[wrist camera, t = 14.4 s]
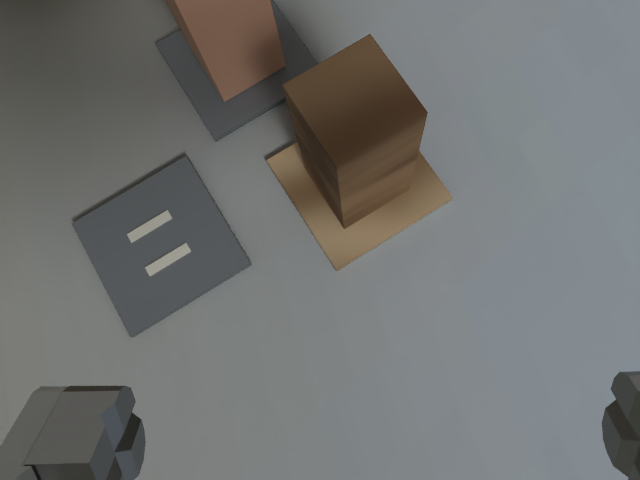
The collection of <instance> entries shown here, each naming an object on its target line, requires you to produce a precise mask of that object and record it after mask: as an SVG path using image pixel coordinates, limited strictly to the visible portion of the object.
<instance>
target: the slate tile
mask: <svg viewBox="0 0 640 480" xmlns="http://www.w3.org/2000/svg"><path fill="white" fill-rule="evenodd" d="M270 2H271V6H272V10H273V14H274V18H275V22H276V26H277V31H278V35H279V39H280V43H281V47H282V51H283V55H284V59H285V63H286V66H285V67H283V68H282V69H280V70H278V71H277V72H275V73H273V74H272V75H270V76H268V77H266V78H265V79H263V80H261V81H260V82H258V83H256V84H255V85H253V86H251V87H249V88H248V89H246V90H244V91H243V92H241V93H239V94H238V95H236V96H234V97H232V98H231V99H229V100H227V101H226V102H224V101H223V99H222V97H221V96H220V94H219V93H218V91H217V89H216V88H215V86H214V85H213V83H212V82H211V80H210V78H209V77H208V75H207V74H206V72H205V71H204V69H203V67H202V66H201V64H200V63H199V61H198V60H197V58H196V56H195V55H194V53H193V52H192V50H191V48H190V47H189V45H188V43H187V41H186V39H185V37H184V35H183V33H182V31H181V29H180V30H178V31H176V32H175V33H173V34H171V35H169V36H168V37H166V38H164V39H162V40H161V41H159V42H157V43H155V44H156V45H157V47H158V49H159V50H160V52H161V54H162V55H163V57H164V58H165V60H166V62H167V63H168V65H169V67H170V68H171V70H172V71H173V73H174V75H175V76H176V78H177V79H178V81H179V83H180V84H181V86H182V88H183V89H184V91H185V92H186V94H187V96H188V97H189V99H190V101H191V102H192V104H193V105H194V107H195V109H196V110H197V112H198V114H199V115H200V117H201V118H202V120H203V122H204V123H205V125H206V126H207V128H208V130H209V131H210V133H211V135H212V136H213V138H214V139H215V141H218V140H219V139H221V138H223V137H224V136H226V135H228V134H229V133H231V132H233V131H234V130H236V129H238V128H239V127H241V126H243V125H244V124H246V123H248V122H250V121H251V120H253V119H255V118H256V117H258V116H260V115H261V114H263V113H265V112H266V111H268V110H270V109H271V108H273V107H275V106H276V105H278V104H280V103H281V102H283V101H285V100H286V97H285V93H284V89H283V86H282V85H283V84H285V83H287V82H288V81H290V80H292V79H293V78H295V77H297V76H299V75H300V74H302V73H304V72H305V71H307V70H309V69H311V68H312V67H314V66H316V65H317V62H316V61H315V59H314V58H313V57H312V55H311V54H310V52H309V51H308V49H307V48H306V47H305V45H304V44H303V42H302V41H301V39H300V38H299V37H298V35H297V34H296V32H295V31H294V29H293V28H292V27H291V25H290V24H289V22H288V21H287V20H286V18H285V17H284V15H283V14H282V12H281V11H280V10H279V8H278V7H277V5H276V4H275V2H274V1H273V0H270Z"/></svg>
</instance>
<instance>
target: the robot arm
mask: <svg viewBox="0 0 640 480" xmlns="http://www.w3.org/2000/svg"><path fill="white" fill-rule="evenodd" d="M611 390H612V392H613V394H614V396H615V398H616V400H615V401H614V402H612V403H611V404H610V405H609V406H608V407H606V408H605V412H604V416H603V420H602V431H603V441H604V444H605V448H606V451H607V454H608V456H609V458H610V460H611V462H612V464H613V466H614V467H615V468H617V469H618V470H619V471H621V472H622V473H623V474H625V475H626V476H627V477H629V479H628V480H640V371H633V372H619V373H618V374H617V375H616V376H615V378H614V380H613V383H612V387H611ZM135 402H136V401H135V398H134V395H133V392H132V390H131V387H127V386H69V387H46V386H41V387H40V388H38V389H37V390H36V391H34V392H33V393H32V395H31V396H30V398H29V400H28V401H27V403H26V405H25V406H24V408H23V410H22V411H21V413H20V415H19V416H18V418H17V420H16V421H15V423H14V425H13V426H12V428H11V430H10V431H9V433H8V435H7V436H6V438H5V440H4V442H3V443H2V445H1V447H0V480H134V479H135V478H136V477H138V476H139V473H140V470H141V467H142V464H143V460H144V452H145V443H146V442H145V431H144V427H143V423H142V420H141V419H140V418H139V417H137V416H136V415H135V414H134V413H132V410H133V407H134V405H135Z"/></svg>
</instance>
